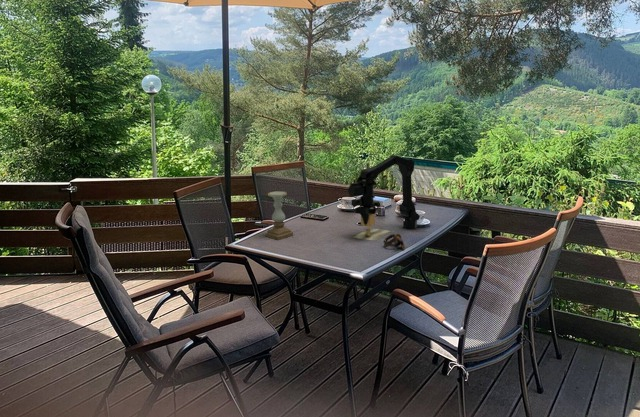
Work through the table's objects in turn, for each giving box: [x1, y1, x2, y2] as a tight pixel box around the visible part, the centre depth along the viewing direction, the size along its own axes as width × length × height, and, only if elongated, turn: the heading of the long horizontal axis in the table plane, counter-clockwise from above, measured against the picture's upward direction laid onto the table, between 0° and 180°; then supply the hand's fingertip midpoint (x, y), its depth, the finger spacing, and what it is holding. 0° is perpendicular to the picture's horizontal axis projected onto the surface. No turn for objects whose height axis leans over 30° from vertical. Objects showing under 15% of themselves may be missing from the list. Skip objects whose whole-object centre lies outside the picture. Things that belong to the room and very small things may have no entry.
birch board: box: [352, 227, 391, 242], centre depth 258 cm, size 13×20×1 cm, turn 149°
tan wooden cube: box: [360, 213, 376, 228], centre depth 252 cm, size 5×5×6 cm
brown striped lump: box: [382, 233, 406, 251], centre depth 238 cm, size 12×10×8 cm
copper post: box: [364, 228, 370, 237], centre depth 254 cm, size 3×3×4 cm
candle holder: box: [265, 190, 294, 241], centre depth 260 cm, size 11×11×24 cm
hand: (368, 223), depth 253 cm, fingers closed on tan wooden cube, 5 cm apart
